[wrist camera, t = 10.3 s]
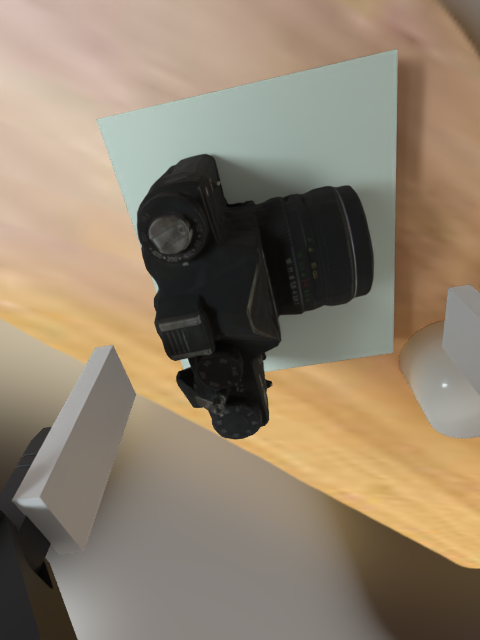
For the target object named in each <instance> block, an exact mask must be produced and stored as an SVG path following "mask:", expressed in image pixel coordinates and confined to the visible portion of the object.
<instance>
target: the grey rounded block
mask: <svg viewBox="0 0 480 640" xmlns="http://www.w3.org/2000/svg"><path fill="white" fill-rule="evenodd" d="M444 323H445V321H441V322H437V323H434V324H431V325H429V326H426V327H424V328H423V329H421V330H419V331H418V332H416V333H415V334H414V335H413V336H412V337H411V338H410V339H409V340H408V341H407V342H406V343H405V345H404V346H403V348H402V350H401V352H400V356H399V368H400V371H401V373H402V375H403V376H404V378H405V380H406V382H407V384H408V385H409V387H410V389H411V391H412V392H413V394H414V396H415V398H416V399H417V401H418V403H419V405H420V407H421V408H422V410H423V412H424V414H425V415H426V417H427V419H428V421H429V422H430V424H431V426H432V427H433V428H434V429H435V430H436V431H438V432H439V433H441V434H443V435H446V436H449V437H453V438H474V437H480V395H479V394H478V393H477V391H476V390H475V389H474V388H473V386H472V385H471V384H470V382H469V381H468V380H467V379H466V377H465V376H464V375H463V373H462V372H461V371H460V370H459V368H458V367H457V366H456V364H455V363H454V362H453V361H452V359H451V358H450V357H449V355H448V354H447V353H446V352H445V350H444V349H443V348H442V342H443V333H444Z"/></svg>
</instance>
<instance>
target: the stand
mask: <svg viewBox="0 0 480 640" xmlns="http://www.w3.org/2000/svg"><path fill="white" fill-rule="evenodd" d="M397 64H398V49H395V50H391V51H386V52H382V53H378V54H374V55H369V56H365V57H361V58H357V59H352V60H348V61H344V62H339V63H335V64H331V65H327V66H322V67H318V68H314V69H310V70H305V71H301V72H297V73H293V74H288V75H284V76H280V77H275V78H271V79H267V80H263V81H258V82H254V83H250V84H246V85H241V86H237V87H233V88H229V89H224V90H220V91H216V92H211V93H207V94H203V95H199V96H194V97H190V98H186V99H182V100H177V101H173V102H169V103H165V104H160V105H156V106H152V107H147V108H143V109H139V110H135V111H130V112H126V113H122V114H118V115H113V116H109V117H105V118H101V119H96V120H97V123H98V126H99V129H100V131H101V134H102V137H103V140H104V143H105V146H106V149H107V151H108V154H109V157H110V160H111V163H112V166H113V169H114V172H115V174H116V177H117V180H118V183H119V186H120V189H121V192H122V194H123V197H124V200H125V203H126V206H127V209H128V212H129V214H130V217H131V220H132V223H133V226H134V229H135V232H136V235H137V237H138V232H137V211H138V208H139V205H140V204H141V202H142V201H143V199H144V197H145V196H146V195H147V194H148V192H149V190H150V188H151V186H152V185H153V184H154V183H155V182H156V181H157V180H158V179H159V178H160V177H161V176H162V175H163V174H164V173H165V172H166V171H167V170H168V169H169V168H170V167H171V166H173V165H176V164H177V163H178V162H179V161H180V160H182V159H185V158H188V157H192V156H196V155H201V154H208V155H211V156H212V157H214V159H215V161H216V165H217V169H218V173H219V178H220V182H221V186H222V189H223V193H224V197H225V198H226V200H227V203H228V204H235V203H241V202H242V203H244V202H245V201H250V200H253V201H254V203H255V204H259V203H263V202H265V201H266V200H268V199H270V198H274V197H285V196H288V195H291V194H304V193H306V192H308V191H310V190H312V189H316V188H320V187H324V186H332V187H339V186H344V185H349V186H351V187H352V188H353V189H354V190H355V192H356V193H357V194H358V196H359V198H360V200H361V203H362V206H363V209H364V212H365V215H366V218H367V223H368V228H369V232H370V236H371V242H372V248H373V253H374V279H373V284H372V288H371V290H370V292H369V293H368V294H367V295H364V296H360V297H356V298H354V299H352V300H351V301H350V302H348V303H347V304H342V305H336V306H325V305H324V306H322V307H320V308H317V309H315V310H311V311H305V312H304V313H303V314H298V315H280V316H279V324H280V330H281V342H280V344H279V345H278V346H277V347H275V348H273V349H271V350H269V351H267V352H265V354H266V356H267V357H266V359H265V360H263V362H264V372H267V371H274V370H281V369H287V368H294V367H301V366H307V365H314V364H321V363H328V362H334V361H341V360H348V359H354V358H361V357H368V356H374V355H381V354H388V353H393V346H394V275H395V205H396V134H397ZM138 240H139V238H138ZM139 243H140V241H139ZM140 246H141V247H142V245H141V244H140ZM151 277H152V276H151ZM152 280H153V283H154V286H155V289H156V292H158V285H157V283H156V281H155V280H154V279H153V277H152ZM180 361H181V363H182V366H183V369H186V368H189V367H191V366H190V364H189V361H188V358H187V359H182V360H180Z"/></svg>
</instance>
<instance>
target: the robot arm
mask: <svg viewBox="0 0 480 640" xmlns="http://www.w3.org/2000/svg"><path fill="white" fill-rule="evenodd" d="M442 348H443V349H444V350H445V352H446V353H447V354H448V355H449V357H450V358H451V359H452V361H453V362H454V363H455V364H456V366H457V367H458V368H459V370H460V371H461V372H462V373H463V375H464V376H465V377H466V379H467V380H468V381H469V382H470V384H471V385H472V386H473V388H474V389H475V390H476V391H477V393H478V394H479V395H480V293H479V292H478V291H477V290H476V289H475V288H473V287H472V286H471V285H470V284H469V285H463V286H457V287H451V288H448V295H447V305H446V314H445V323H444V333H443V342H442ZM135 396H136V393H135V391H134V389H133V387H132V385H131V383H130V380H129V378H128V376H127V374H126V372H125V370H124V368H123V365H122V363H121V361H120V359H119V357H118V355H117V352H116V350H115V348H114V346H113V345H109V346H104V347H98V348H95V349H94V351H93V353H92V355H91V356H90V358H89V360H88V362H87V364H86V366H85V367H84V369H83V371H82V373H81V375H80V377H79V379H78V380H77V382H76V384H75V386H74V388H73V389H72V391H71V393H70V395H69V397H68V399H67V400H66V403H65V404H64V406H63V408H62V410H61V411H60V414H59V415H58V417H57V419H56V421H55V423H54V424H53V426H52V427H47V428H43V429H42V430H41V431H40V432H39V433H38V434H37V435H36V436H35V437H34V438H33V440H31V442H30V444H29V445H28V447H27V449H26V450H25V452H24V454H23V457H21V459H20V461H19V462H18V464H17V468H16V469H14V471H13V473H12V474H11V476H10V478H9V480H8V481H7V483H6V485H5V487H4V488H3V490H2V492H1V493H0V640H77V637H76V634H75V631H74V629H73V626H72V623H71V620H70V618H69V615H68V612H67V609H66V607H65V604H64V601H63V598H62V596H61V593H60V591H59V587H58V585H57V582H56V579H55V577H54V574H53V571H52V568H51V566H50V563H49V562H48V561H47V559H46V558H45V556H46V554H47V552H48V549H49V546H50V545H51V546H52V547H53V548H54V549H55V550H56V551H57V553H58V554H59V555H62V554H71V553H79V552H84V550H85V547H86V544H87V540H88V538H89V534H90V532H91V529H92V525H93V523H94V520H95V517H96V514H97V510H98V507H99V505H100V501H101V499H102V495H103V492H104V489H105V486H106V483H107V480H108V477H109V474H110V471H111V468H112V465H113V462H114V459H115V456H116V453H117V450H118V447H119V444H120V441H121V438H122V435H123V432H124V429H125V426H126V423H127V420H128V417H129V414H130V411H131V408H132V405H133V402H134V399H135Z"/></svg>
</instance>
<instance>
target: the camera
mask: <svg viewBox="0 0 480 640" xmlns="http://www.w3.org/2000/svg"><path fill="white" fill-rule="evenodd" d="M137 232H138V238H139V241H140V244H141V245H142V247H141V250H142V256H143V259H144V263H145V266H146V269H147V271H148V272H149V274H150V275H151V276H152V277H153V279H154V280H155V281H156V283H157V285H158V292H157V294H156V296H155V298H154V307H155V310H156V317H155V322H154V323H155V327H156V330H157V333H158V334H159V336H160V338H161V339H162V342H163V345H164V349H165V352H166V354H167V355H168V357H169V358H170V359H172V360H174V361H177V360H182V359H187V358H188V361H189V364H190V366H191V367H189V368H186V369H184V370H181V371H179V372H178V374H177V376H176V381H177V384H178V386H179V387H180V389H181V390H182V392H183V393H184V394H185V396H186V397H187V399H188V400H189V402H190V403H191V405H192V406H193V407H195V408H202V407H204V408H206V409H207V410H208V411H209V413H210V416H211V418H212V425H213V427H214V429H215V430H216V431H217V432H218V434H220V435H221V436H222V437H224V438H229V439H243V438H246V437H248V436H251V435H253V434H255V433H256V432H257V431H258V430H259V428H260V427H262V426H265V425H266V424H267V423H268V421H269V409H268V398H267V394H266V391H267V388H269V387H271V386H272V381H268V380H266V379H265V375H264V362H263V360H265V359H266V357H267V356H266V354H265V352H267V351H269V350H271V349H273V348H275V347H277V346H278V345H279V344H280V342H281V330H280V324H279V316H280V315H298V314H303V313H304V312H305V311H311V310H315V309H317V308H320V307H322V306H324V305H325V306H336V305H342V304H347V303H348V302H350V301H351V300H352V299H354V298H356V297H360V296H364V295H367V294H368V293H369V292H370V290H371V288H372V284H373V279H374V253H373V248H372V242H371V236H370V232H369V228H368V223H367V218H366V215H365V212H364V209H363V206H362V203H361V200H360V198H359V196H358V194H357V193H356V192H355V190H354V189H353V188H352V187H351V186H349V185H344V186H339V187H332V186H324V187H320V188H316V189H312V190H310V191H308V192H306V193H304V194H291V195H288V196H285V197H274V198H270V199H268V200H266V201H265V202H263V203H259V204H255V203H254V201H253V200H250V201H245V202H244V203H242V202H241V203H235V204H228V203H227V200H226V198H225V197H224V193H223V189H222V186H221V182H220V178H219V173H218V169H217V165H216V161H215V159H214V157H212V156H211V155H208V154H201V155H196V156H192V157H188V158H185V159H182V160H180V161H179V162H178V163H177V164H176V165H173V166H171V167H170V168H169V169H168V170H167V171H166V172H165V173H164V174H163V175H162V176H161V177H160V178H159V179H158V180H157V181H156V182H155V183H154V184H153V185H152V186H151V188H150V190H149V192H148V194H147V195H146V196H145V197H144V199H143V201H142V202H141V204H140V205H139V208H138V211H137Z"/></svg>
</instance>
